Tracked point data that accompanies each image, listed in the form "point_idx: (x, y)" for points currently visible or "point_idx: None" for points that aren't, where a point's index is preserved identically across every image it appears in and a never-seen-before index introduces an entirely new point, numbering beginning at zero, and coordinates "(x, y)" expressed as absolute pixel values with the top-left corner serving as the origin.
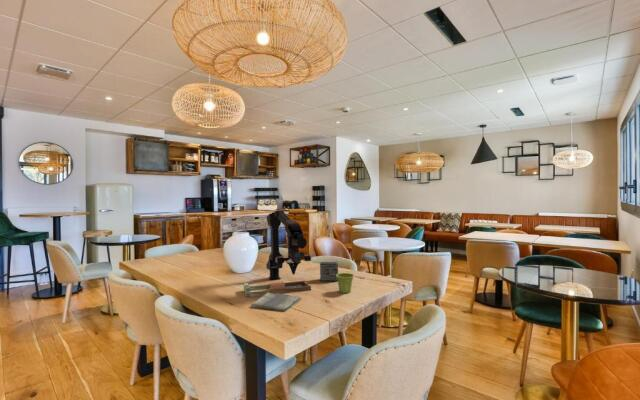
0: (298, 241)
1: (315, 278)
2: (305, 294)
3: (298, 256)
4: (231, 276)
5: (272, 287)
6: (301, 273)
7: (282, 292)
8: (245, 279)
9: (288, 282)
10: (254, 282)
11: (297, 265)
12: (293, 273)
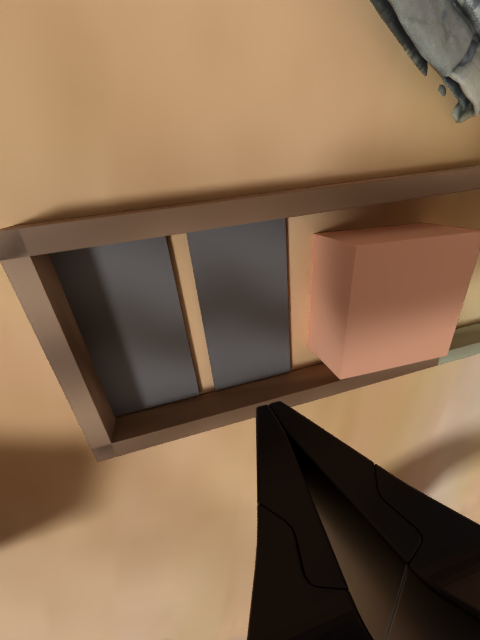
0: None
1: (4, 574)
2: (85, 25)
3: None
4: None
5: (459, 229)
6: (133, 634)
7: (351, 182)
8: (446, 501)
9: None
10: (429, 461)
11: (257, 632)
12: (280, 411)
